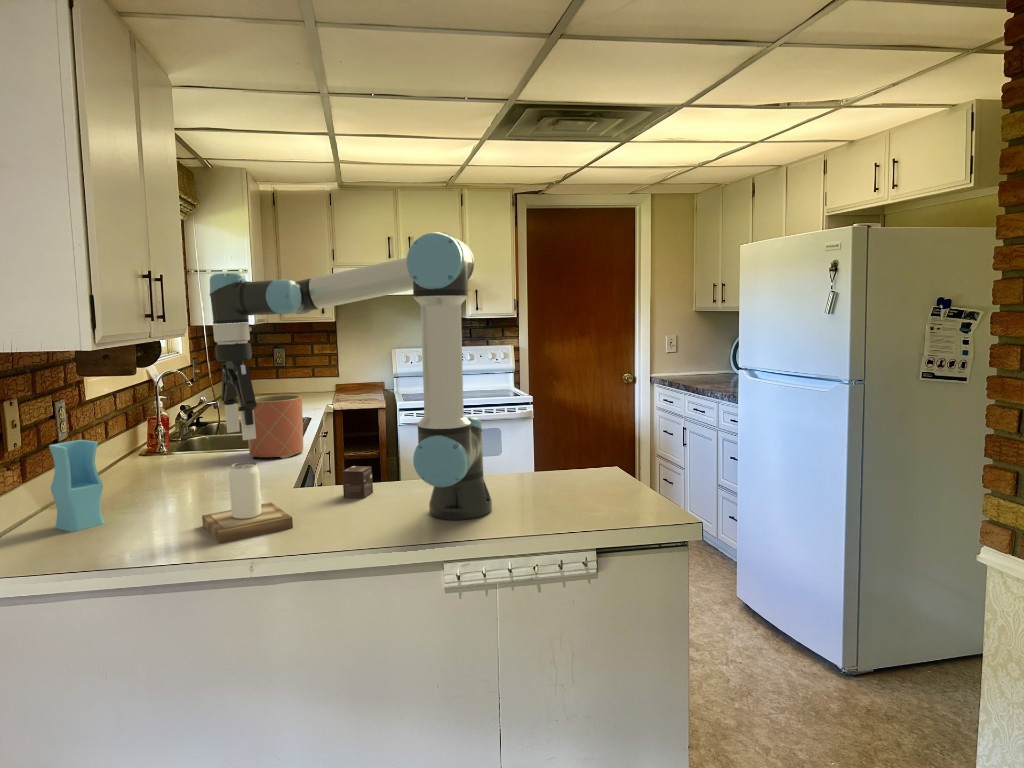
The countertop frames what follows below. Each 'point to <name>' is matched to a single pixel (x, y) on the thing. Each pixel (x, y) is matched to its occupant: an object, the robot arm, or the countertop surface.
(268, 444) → the planter
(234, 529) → the board
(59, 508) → the vase
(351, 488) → the box
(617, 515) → the countertop surface
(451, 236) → the robot arm
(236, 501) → the can
